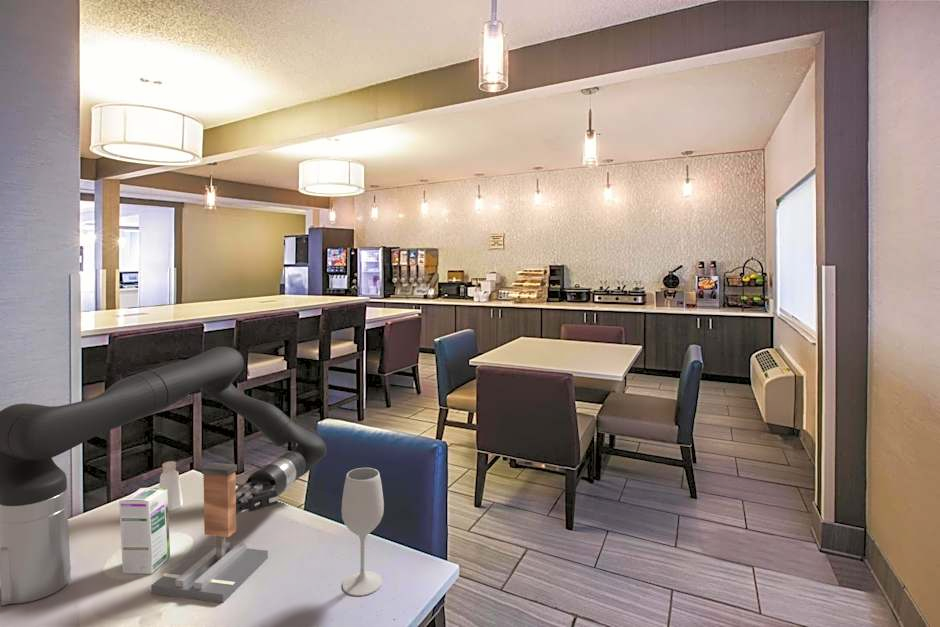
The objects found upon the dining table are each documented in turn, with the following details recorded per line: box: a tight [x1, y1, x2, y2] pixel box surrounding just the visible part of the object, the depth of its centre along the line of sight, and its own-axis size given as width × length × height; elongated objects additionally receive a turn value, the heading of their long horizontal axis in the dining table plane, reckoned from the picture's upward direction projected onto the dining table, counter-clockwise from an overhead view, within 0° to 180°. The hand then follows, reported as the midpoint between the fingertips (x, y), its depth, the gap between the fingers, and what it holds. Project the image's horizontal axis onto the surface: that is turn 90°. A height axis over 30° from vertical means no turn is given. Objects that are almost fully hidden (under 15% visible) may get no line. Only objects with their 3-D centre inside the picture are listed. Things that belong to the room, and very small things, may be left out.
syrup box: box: [119, 487, 171, 575], centre depth 96 cm, size 6×6×14 cm
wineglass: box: [341, 467, 385, 597], centre depth 91 cm, size 8×8×21 cm
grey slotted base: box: [150, 541, 269, 604], centre depth 94 cm, size 14×14×3 cm
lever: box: [201, 462, 238, 560], centre depth 95 cm, size 3×5×18 cm, turn 81°
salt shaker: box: [158, 460, 184, 512], centre depth 120 cm, size 5×5×11 cm
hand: (224, 514), depth 96 cm, fingers closed
